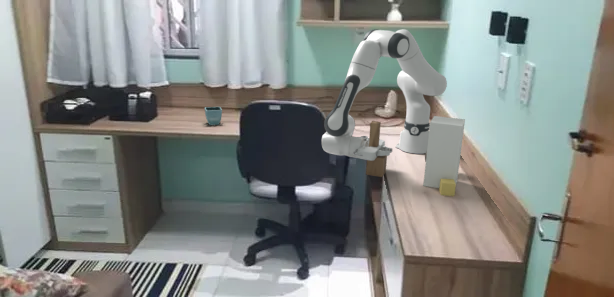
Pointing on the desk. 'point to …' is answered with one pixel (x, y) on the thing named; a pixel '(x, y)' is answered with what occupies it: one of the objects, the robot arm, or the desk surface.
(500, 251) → the desk surface
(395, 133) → the desk surface
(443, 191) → the mustard block
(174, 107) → the desk surface
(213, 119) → the flower pot
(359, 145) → the robot arm
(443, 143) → the white block
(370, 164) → the brown block
